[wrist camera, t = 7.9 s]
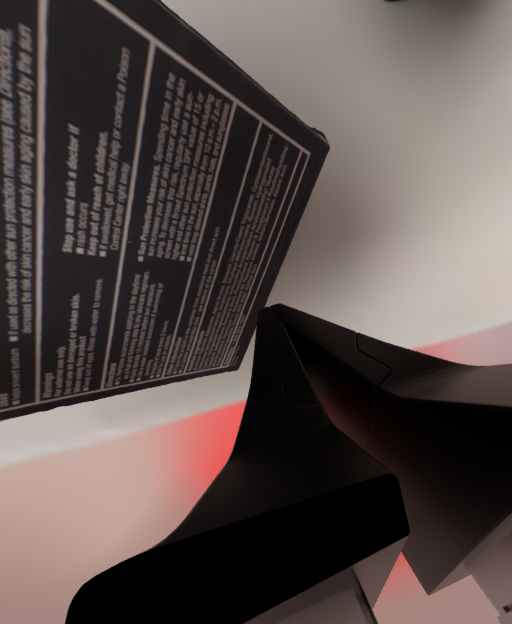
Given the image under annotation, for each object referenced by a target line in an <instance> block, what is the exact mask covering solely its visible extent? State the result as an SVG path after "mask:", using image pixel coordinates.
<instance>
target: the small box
mask: <svg viewBox="0 0 512 624" xmlns="http://www.w3.org/2000/svg"><path fill="white" fill-rule="evenodd" d="M329 149H330V146H329V144H328V141H327V139H326V137H325V135H324V134H323V133H322V132H321V131H319V130H316V129H315V128H311V127H309V126H307V125H306V124H305V123H303V122H302V121H301V120H300V119H299V118H298V117H297V116H296V115H295V114H293V113H292V112H291V111H289V110H288V109H287V108H286V107H285V106H283V105H282V104H281V103H280V102H279V101H278V100H277V99H276V98H275V97H273V96H272V95H271V94H269V93H268V92H267V91H266V90H265V89H264V88H263V87H262V86H261V85H259V84H258V83H257V82H256V81H255V80H254V79H252V78H251V77H250V76H249V75H248V74H247V73H246V72H244V71H243V70H242V69H241V68H240V67H239V66H238V65H236V64H235V63H234V62H233V61H232V60H231V59H229V58H228V57H227V56H226V55H225V54H224V53H222V52H221V51H220V50H218V49H217V48H216V47H215V46H214V45H213V44H211V43H210V42H209V41H208V40H207V39H206V38H204V37H203V36H202V35H201V34H200V33H199V32H197V31H196V30H195V29H194V28H192V27H191V26H190V25H188V24H187V23H186V22H185V21H184V20H183V19H182V18H180V17H179V16H178V15H177V14H176V13H174V12H173V11H172V10H171V9H169V8H168V7H167V6H166V5H165V4H164V3H163V2H162V1H161V0H0V421H1V420H5V419H10V418H15V417H19V416H24V415H28V414H32V413H36V412H41V411H48V410H51V409H54V408H57V407H61V406H70V405H74V404H78V403H82V402H88V401H94V400H98V399H102V398H106V397H111V396H115V395H120V394H125V393H129V392H134V391H138V390H143V389H147V388H152V387H157V386H161V385H167V384H170V383H174V382H181V381H186V380H189V379H194V378H198V377H203V376H208V375H214V374H219V373H223V372H231V371H236V370H238V369H239V367H240V365H241V362H242V360H243V358H244V355H245V353H246V351H247V348H248V346H249V343H250V341H251V338H252V336H253V333H254V331H255V329H256V326H257V318H258V310H259V309H262V308H264V307H265V305H266V302H267V299H268V297H269V295H270V292H271V290H272V287H273V285H274V283H275V280H276V278H277V275H278V273H279V270H280V268H281V266H282V263H283V261H284V258H285V256H286V253H287V251H288V249H289V246H290V244H291V241H292V239H293V237H294V234H295V232H296V229H297V227H298V224H299V222H300V219H301V217H302V215H303V213H304V210H305V207H306V205H307V203H308V200H309V198H310V195H311V192H312V190H313V188H314V186H315V183H316V180H317V178H318V176H319V173H320V171H321V168H322V166H323V163H324V161H325V158H326V156H327V154H328V151H329Z"/></svg>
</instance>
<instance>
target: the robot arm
mask: <svg viewBox="0 0 512 624" xmlns="http://www.w3.org/2000/svg"><path fill="white" fill-rule="evenodd" d="M392 1H393V0H392ZM400 552H402V554H403V555H404V557H405V559H406V560H407V562H408V563H409V565H410V567H411V568H412V570H413V572H414V573H415V575H416V577H417V578H418V580H419V582H420V583H421V585H422V586H423V588H424V590H425V591H426V593H427V594H428V595H431V594H433V593H435V592H437V591H439V590H441V589H443V588H445V587H447V586H449V585H451V584H453V583H455V582H457V581H459V580H461V579H463V578H465V577H467V576H469V575H472V576H473V578H474V579H475V580H476V582H477V584H478V585H479V586H480V588H481V589H482V591H483V592H484V593H485V595H486V596H487V598H488V599H489V600H490V602H491V603H492V604H493V606H494V607H495V609H496V610H497V611H498V613H499V614H500V616H499V617H498V620H499V622H500V624H512V364H503V365H493V366H473V365H465V364H459V363H455V362H451V361H447V360H443V359H441V358H437V357H434V356H430V355H427V354H423V353H420V352H416V351H413V350H410V349H406V348H403V347H399V346H396V345H393V344H390V343H386V342H383V341H381V340H378V339H375V338H372V337H369V336H366V335H364V334H361V333H357V334H356V332H355V331H353V330H350V329H347V328H345V327H342V326H339V325H337V324H334V323H331V322H329V321H326V320H323V319H321V318H318V317H315V316H313V315H310V314H307V313H305V312H302V311H299V310H297V309H294V308H291V307H289V306H286V305H283V304H280V303H279V304H275V305H272V306H270V307H265V308H262V309H259V310H258V318H257V328H256V338H255V348H254V359H253V367H252V377H251V383H250V389H249V393H248V398H247V402H246V406H245V409H244V412H243V417H242V420H241V423H240V427H239V431H238V434H237V438H236V441H235V444H234V447H233V450H232V453H231V455H230V457H229V459H228V461H227V463H226V464H225V466H224V467H223V469H222V470H221V471H220V473H219V474H218V475H217V477H216V478H215V479H214V480H213V482H212V483H211V485H210V486H209V487H208V489H207V490H206V491H205V492H204V494H203V495H202V497H201V498H200V499H199V500H198V502H197V503H196V505H195V506H194V507H193V508H192V510H191V511H190V512H189V514H188V515H187V516H186V518H185V519H184V520H183V521H182V523H181V524H180V525H179V526H178V527H177V528H176V529H175V530H174V531H173V532H172V533H171V534H170V535H168V536H167V537H166V538H165V539H164V540H162V541H161V542H159V543H158V544H156V545H155V546H153V547H152V548H150V549H148V550H146V551H144V552H142V553H140V554H138V555H136V556H133V557H131V558H129V559H127V560H125V561H122V562H120V563H119V564H117V565H115V566H113V567H111V568H109V569H107V570H106V571H104V572H102V573H100V574H98V575H96V576H95V577H93V578H92V579H90V580H89V581H88V582H86V583H85V584H83V586H82V587H81V588H80V589H79V590H78V592H77V593H76V595H75V596H74V598H73V600H72V602H71V604H70V606H69V609H68V613H67V617H66V622H65V624H378V622H377V619H376V617H375V615H374V612H373V610H372V609H373V607H374V605H375V603H376V601H377V599H378V597H379V595H380V593H381V591H382V589H383V587H384V585H385V583H386V581H387V579H388V577H389V575H390V573H391V571H392V568H393V567H394V564H395V562H396V560H397V558H398V556H399V554H400Z"/></svg>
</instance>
